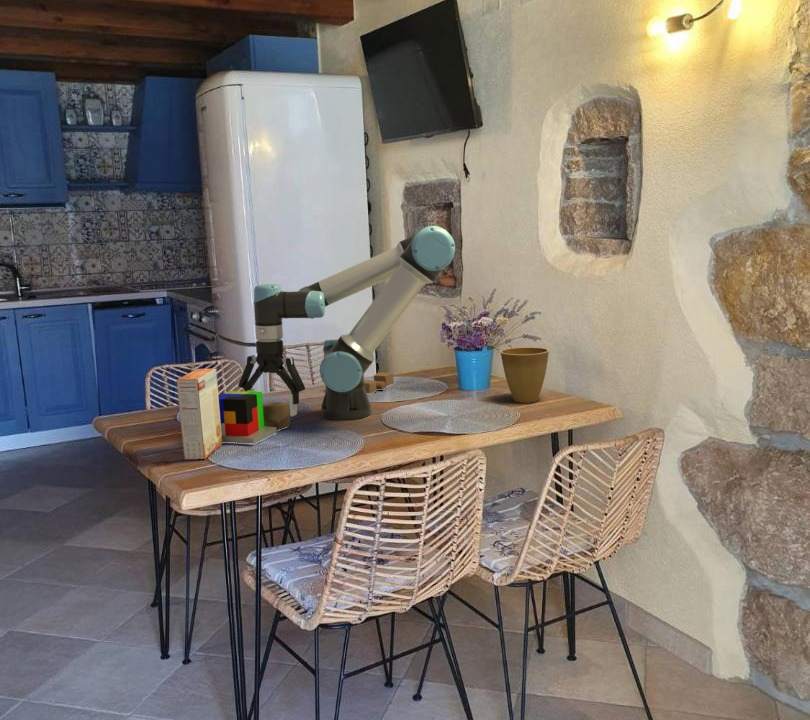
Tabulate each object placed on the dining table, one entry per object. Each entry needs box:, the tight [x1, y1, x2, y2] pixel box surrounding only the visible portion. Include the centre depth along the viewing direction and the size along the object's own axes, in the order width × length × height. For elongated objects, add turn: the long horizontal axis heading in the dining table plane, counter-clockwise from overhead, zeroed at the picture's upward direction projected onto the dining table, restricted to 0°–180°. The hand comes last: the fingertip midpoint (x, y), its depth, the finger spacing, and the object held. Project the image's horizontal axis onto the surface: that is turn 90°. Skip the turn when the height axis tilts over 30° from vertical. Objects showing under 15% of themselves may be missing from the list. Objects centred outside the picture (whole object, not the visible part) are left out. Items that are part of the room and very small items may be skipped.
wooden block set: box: [364, 371, 395, 393], centre depth 283 cm, size 17×6×18 cm
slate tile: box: [222, 426, 278, 443], centre depth 223 cm, size 16×12×2 cm
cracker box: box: [176, 368, 223, 461], centre depth 208 cm, size 14×6×21 cm, turn 174°
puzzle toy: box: [218, 390, 264, 436], centre depth 222 cm, size 10×10×10 cm
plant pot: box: [500, 346, 550, 404], centre depth 255 cm, size 15×15×16 cm
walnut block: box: [263, 401, 290, 430], centre depth 232 cm, size 6×6×7 cm
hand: (272, 413), depth 232 cm, fingers open, 13 cm apart
